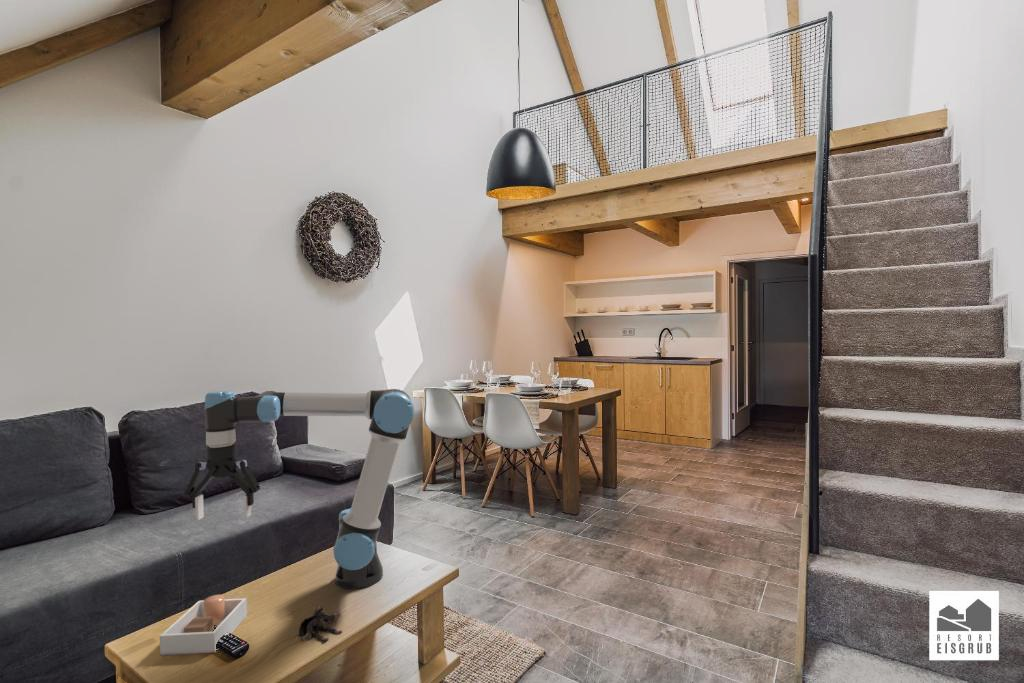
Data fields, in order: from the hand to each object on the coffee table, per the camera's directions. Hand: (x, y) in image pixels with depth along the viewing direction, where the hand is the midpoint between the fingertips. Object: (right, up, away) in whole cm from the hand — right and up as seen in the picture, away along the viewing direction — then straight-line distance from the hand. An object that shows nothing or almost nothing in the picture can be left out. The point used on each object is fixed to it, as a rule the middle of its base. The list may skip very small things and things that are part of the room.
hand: (223, 517), depth 149 cm
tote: (0, -29, -9) cm, 30 cm away
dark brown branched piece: (+31, -29, -7) cm, 43 cm away
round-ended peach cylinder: (0, -28, -4) cm, 29 cm away
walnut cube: (+1, -28, -13) cm, 31 cm away
